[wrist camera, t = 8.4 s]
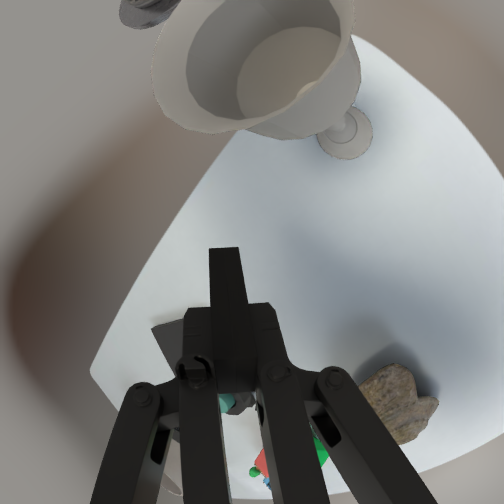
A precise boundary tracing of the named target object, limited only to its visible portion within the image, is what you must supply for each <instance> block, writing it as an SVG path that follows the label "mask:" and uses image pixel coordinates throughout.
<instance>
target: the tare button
mask: <svg viewBox="0 0 504 504" xmlns="http://www.w3.org/2000/svg"><path fill="white" fill-rule="evenodd" d="M219 401H220V408H221V413H226V412H227V411H228V410H229V409H230V408H231V407H232V406H233V405H234V403H235V399H234V397H233V395H232V394H219Z"/></svg>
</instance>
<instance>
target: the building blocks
mask: <svg viewBox="0 0 504 504" xmlns="http://www.w3.org/2000/svg"><path fill="white" fill-rule="evenodd" d="M313 438H314V442H315V446H316V450H317V454H318V458H319V461H320V465H321V467H322V466H323V464H324V463H325V461H326V460H327V458H328V457H329V454H328V453H327V451H326V449H325V448H324V446H323V444H322V443H321V441H319V440H318V439H317V438H315V437H313ZM254 465H256V467H252V468H251V469H250V471H249V472H250V473H249V475H250V476H251V477H256V476H258V475H259V474H260V473H261V472H262V473H261V474H263V476H264V475H265V476H264V477H265V478H264V480H263V481H264V482H263V483H265V484H266V485H267V486H268V487H269V489H270V490H271V486H270V480H269V475H268V470H267V464H266V459H265V453H264V448H263V449H262V451H261V452H260V454H259V455H258V457H257V458H256V460H255V464H254Z"/></svg>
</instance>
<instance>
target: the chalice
mask: <svg viewBox="0 0 504 504" xmlns="http://www.w3.org/2000/svg"><path fill="white" fill-rule="evenodd" d="M354 24H355V12H354V3H353V0H181V2H180V3H179V4H178V6H177V7H176V8H175V10H174V11H173V12H172V14H171V15H170V17H169V18H168V20H167V21H166V23H165V25H164V27H163V29H162V32H161V34H160V36H159V38H158V41H157V43H156V46H155V49H154V55H153V61H152V67H151V78H152V85H153V93H154V96H155V98H156V100H157V102H158V104H159V106H160V107H161V109H162V111H163V113H164V115H165V116H166V117H168V118H169V119H171V120H172V121H174V122H175V123H176V124H178V125H179V126H181V127H182V128H183V129H185V130H191V131H197V132H202V133H208V134H218V133H224V132H230V131H236V130H242V129H245V130H248V131H251V132H254V133H257V134H260V135H263V136H267V137H271V138H275V139H279V140H292V139H303V138H306V137H309V136H311V135H314V134H317V138H318V141H319V144H320V145H321V147H322V148H323V150H324V151H325V152H326V153H328V154H329V155H330V156H332V157H335V158H337V159H342V160H350V159H353V158H357V157H359V156H360V155H362V154H363V153H365V151H366V150H367V149H368V147H369V146H370V144H371V140H372V126H371V124H370V121H369V119H368V118H367V117H366V115H365V114H364V113H363V112H361V111H360V110H358V109H357V108H354V107H351V105H352V104H353V102H354V101H355V98H356V95H357V92H358V89H359V86H360V83H361V68H360V61H359V58H358V55H357V52H356V49H355V46H354V43H353V41H352V38H351V33H352V30H353V27H354Z"/></svg>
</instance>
